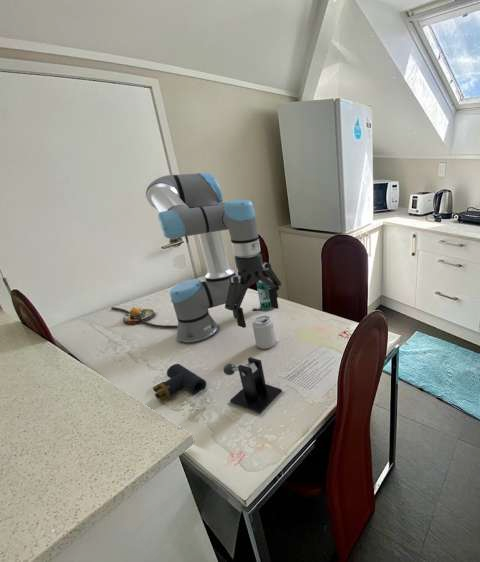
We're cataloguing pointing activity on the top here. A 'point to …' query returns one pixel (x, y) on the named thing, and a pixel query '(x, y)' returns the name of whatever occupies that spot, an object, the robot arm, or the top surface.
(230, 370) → the tap lever
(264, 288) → the can
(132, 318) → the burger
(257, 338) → the can
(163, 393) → the pipe connector
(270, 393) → the bracket
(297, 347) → the top surface
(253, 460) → the top surface
